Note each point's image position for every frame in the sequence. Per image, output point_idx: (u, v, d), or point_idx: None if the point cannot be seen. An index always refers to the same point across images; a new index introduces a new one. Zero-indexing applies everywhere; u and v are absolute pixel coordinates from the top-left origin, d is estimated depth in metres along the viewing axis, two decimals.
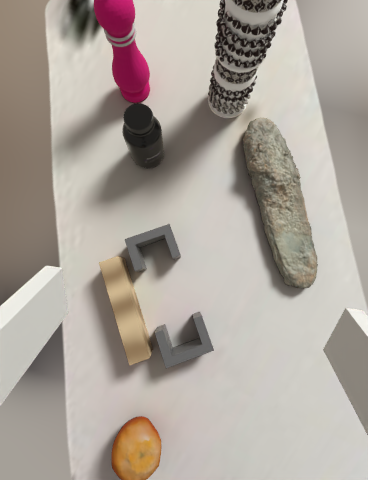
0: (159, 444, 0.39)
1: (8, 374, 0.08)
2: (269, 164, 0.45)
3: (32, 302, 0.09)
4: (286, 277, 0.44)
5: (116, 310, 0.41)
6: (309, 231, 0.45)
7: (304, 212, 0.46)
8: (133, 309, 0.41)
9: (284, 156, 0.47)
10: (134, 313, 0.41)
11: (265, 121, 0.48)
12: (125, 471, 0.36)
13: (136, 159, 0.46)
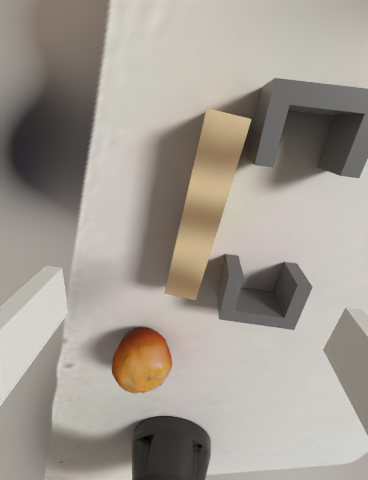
0: (169, 370, 0.32)
1: (8, 374, 0.08)
2: None
3: (32, 302, 0.09)
4: None
5: (187, 216, 0.22)
6: None
7: None
8: (215, 231, 0.22)
9: None
10: (212, 237, 0.23)
11: None
12: (126, 385, 0.30)
13: None
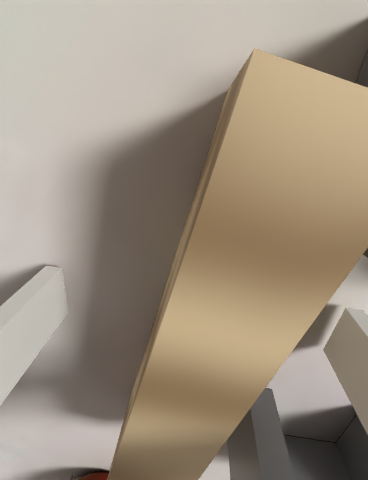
0: None
1: (8, 374, 0.08)
2: None
3: (32, 302, 0.09)
4: None
5: (156, 391, 0.07)
6: None
7: None
8: (230, 425, 0.08)
9: None
10: (222, 436, 0.08)
11: None
12: None
13: None
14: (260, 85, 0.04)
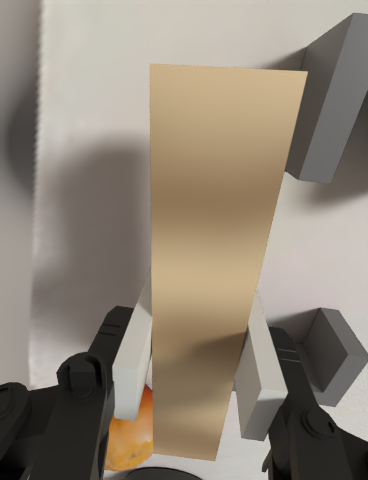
0: None
1: None
2: None
3: None
4: None
5: (165, 340, 0.09)
6: None
7: None
8: (234, 360, 0.10)
9: None
10: (231, 372, 0.10)
11: None
12: None
13: None
14: (161, 86, 0.06)
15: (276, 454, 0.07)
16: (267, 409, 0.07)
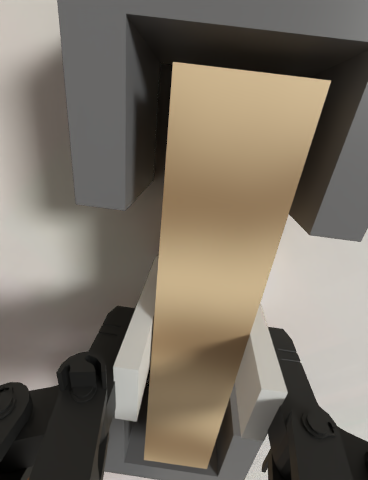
0: None
1: None
2: None
3: None
4: None
5: (166, 344, 0.09)
6: None
7: None
8: (234, 367, 0.09)
9: None
10: (230, 379, 0.10)
11: None
12: None
13: None
14: (183, 85, 0.05)
15: (276, 454, 0.07)
16: (267, 409, 0.07)
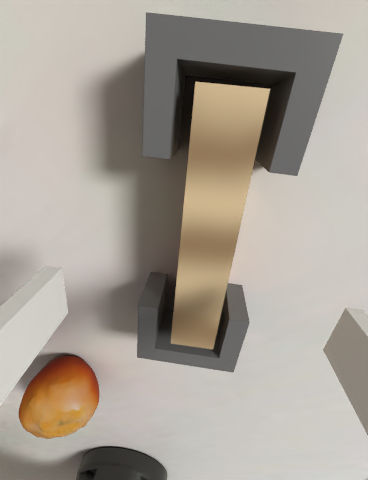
0: (94, 409, 0.27)
1: (8, 374, 0.08)
2: None
3: (32, 302, 0.09)
4: None
5: (188, 246, 0.15)
6: None
7: None
8: (229, 262, 0.16)
9: None
10: (227, 270, 0.16)
11: None
12: (33, 431, 0.24)
13: None
14: (200, 92, 0.11)
15: None
16: None
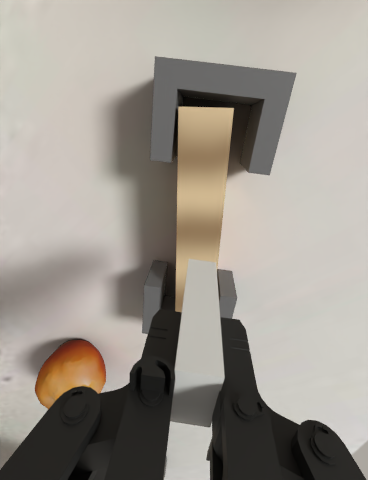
0: (101, 386, 0.30)
1: None
2: None
3: (201, 287, 0.11)
4: None
5: (183, 233, 0.19)
6: None
7: None
8: (217, 244, 0.19)
9: None
10: (216, 251, 0.19)
11: None
12: (48, 405, 0.27)
13: None
14: (182, 114, 0.15)
15: (215, 442, 0.07)
16: (208, 394, 0.07)
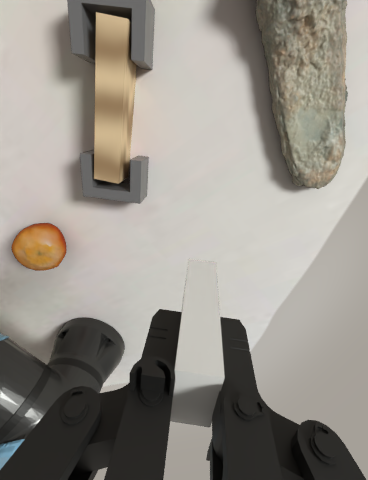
0: (61, 253, 0.40)
1: None
2: None
3: (201, 287, 0.11)
4: (295, 177, 0.34)
5: (99, 105, 0.29)
6: (342, 102, 0.29)
7: (341, 67, 0.28)
8: (121, 117, 0.30)
9: None
10: (120, 123, 0.30)
11: None
12: (21, 258, 0.38)
13: None
14: (98, 17, 0.26)
15: (215, 442, 0.07)
16: (208, 394, 0.07)
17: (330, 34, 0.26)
